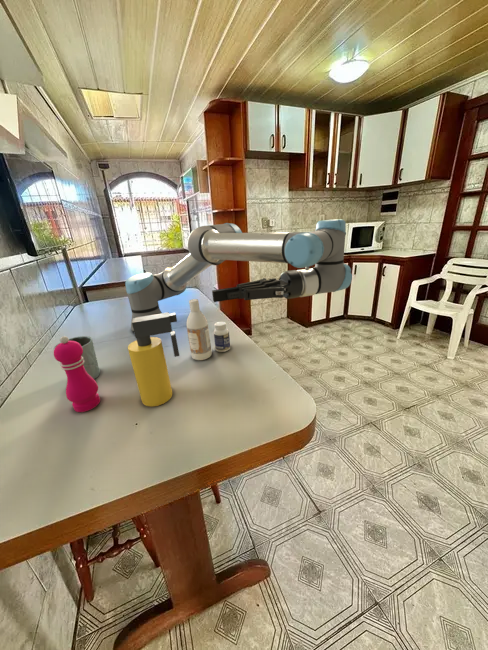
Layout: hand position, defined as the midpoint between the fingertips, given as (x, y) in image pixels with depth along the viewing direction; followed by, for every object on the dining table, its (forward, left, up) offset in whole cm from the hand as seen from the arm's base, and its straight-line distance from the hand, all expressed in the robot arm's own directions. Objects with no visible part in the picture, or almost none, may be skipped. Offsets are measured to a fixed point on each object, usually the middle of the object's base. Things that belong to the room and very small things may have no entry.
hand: (213, 296), depth 67 cm
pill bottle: (-20, +5, -26) cm, 33 cm away
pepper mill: (-4, -36, -26) cm, 45 cm away
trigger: (0, -11, -14) cm, 18 cm away
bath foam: (-18, -3, -26) cm, 31 cm away
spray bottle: (0, -16, -25) cm, 30 cm away
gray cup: (-20, -40, -26) cm, 52 cm away
